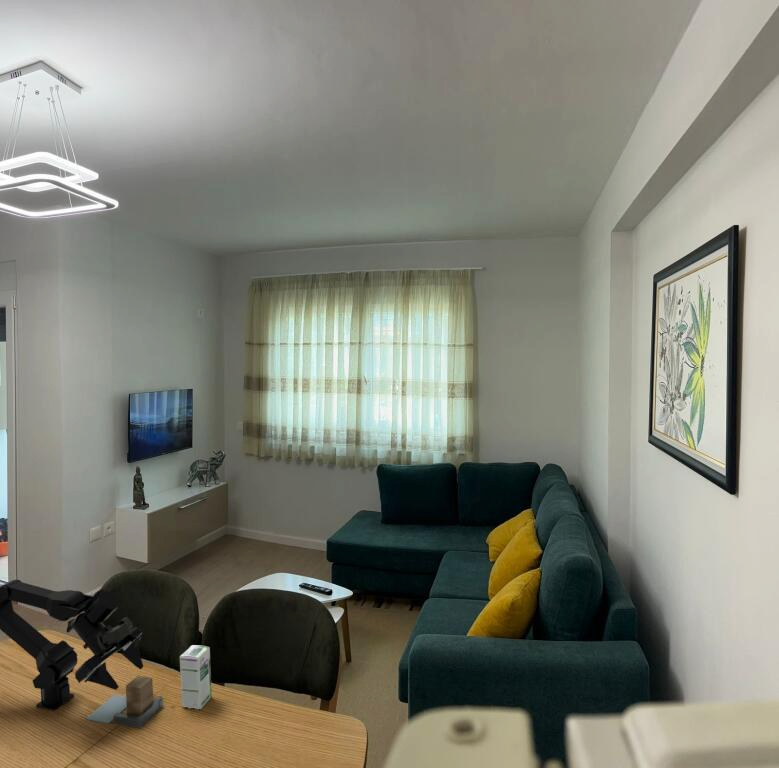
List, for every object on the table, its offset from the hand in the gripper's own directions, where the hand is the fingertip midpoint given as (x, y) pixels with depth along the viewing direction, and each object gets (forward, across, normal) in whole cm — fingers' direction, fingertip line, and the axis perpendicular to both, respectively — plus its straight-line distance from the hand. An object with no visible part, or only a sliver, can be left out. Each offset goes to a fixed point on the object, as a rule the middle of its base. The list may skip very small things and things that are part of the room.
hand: (130, 678), depth 142 cm
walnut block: (+9, 0, +5) cm, 10 cm away
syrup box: (+17, +8, -3) cm, 19 cm away
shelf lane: (+8, 0, +5) cm, 10 cm away
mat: (+2, 0, +11) cm, 11 cm away
